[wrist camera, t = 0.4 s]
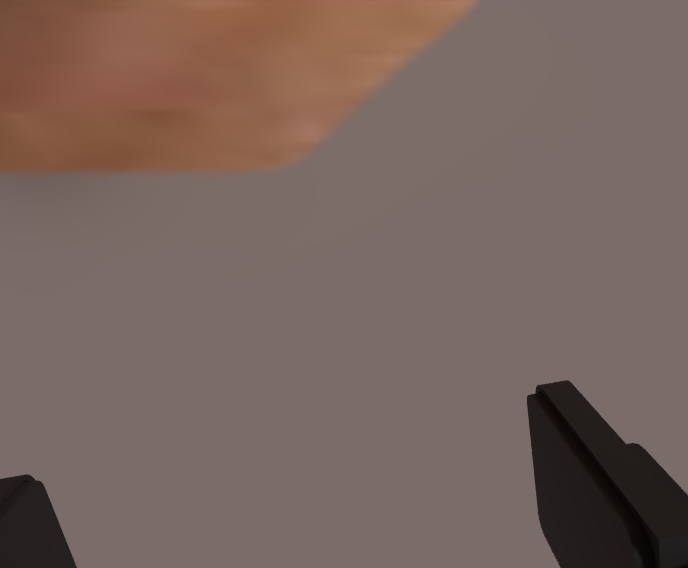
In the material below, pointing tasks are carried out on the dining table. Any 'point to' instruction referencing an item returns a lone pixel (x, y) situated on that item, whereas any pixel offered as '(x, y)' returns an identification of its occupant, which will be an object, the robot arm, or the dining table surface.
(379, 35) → the dining table surface
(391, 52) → the dining table surface
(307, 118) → the dining table surface
